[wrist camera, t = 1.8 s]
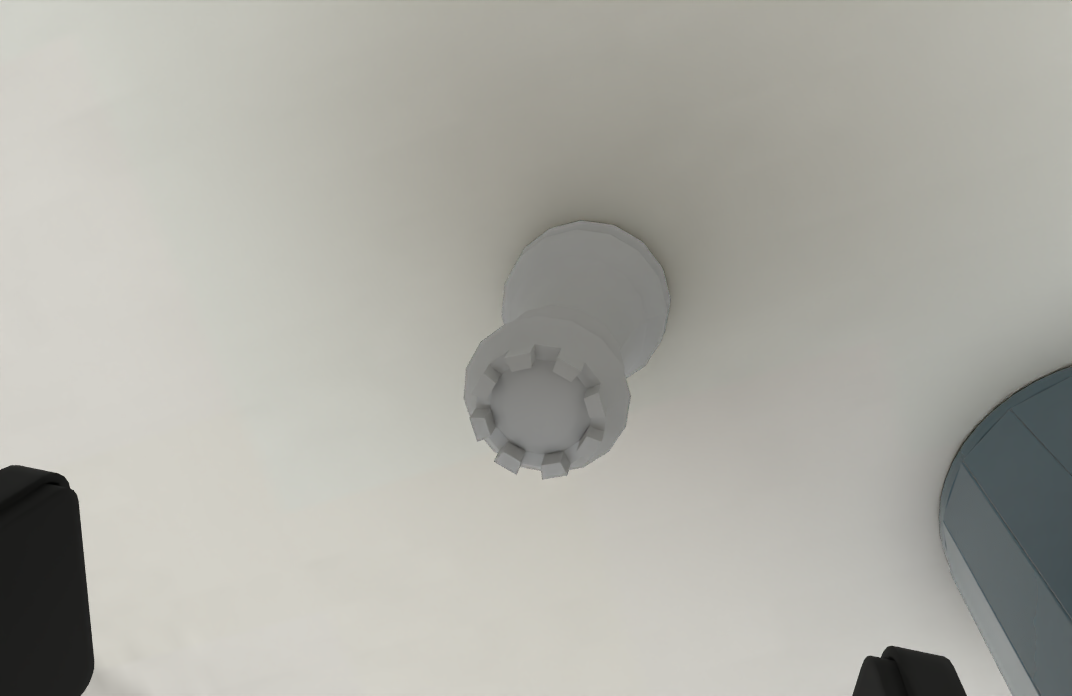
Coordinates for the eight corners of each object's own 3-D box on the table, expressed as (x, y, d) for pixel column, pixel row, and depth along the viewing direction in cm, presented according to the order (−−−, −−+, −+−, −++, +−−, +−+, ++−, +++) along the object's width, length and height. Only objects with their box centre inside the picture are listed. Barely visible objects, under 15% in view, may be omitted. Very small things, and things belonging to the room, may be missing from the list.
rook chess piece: (668, 212, 21) (655, 294, 13) (673, 372, 22) (664, 527, 15) (502, 221, 22) (402, 304, 14) (517, 374, 23) (434, 522, 16)
